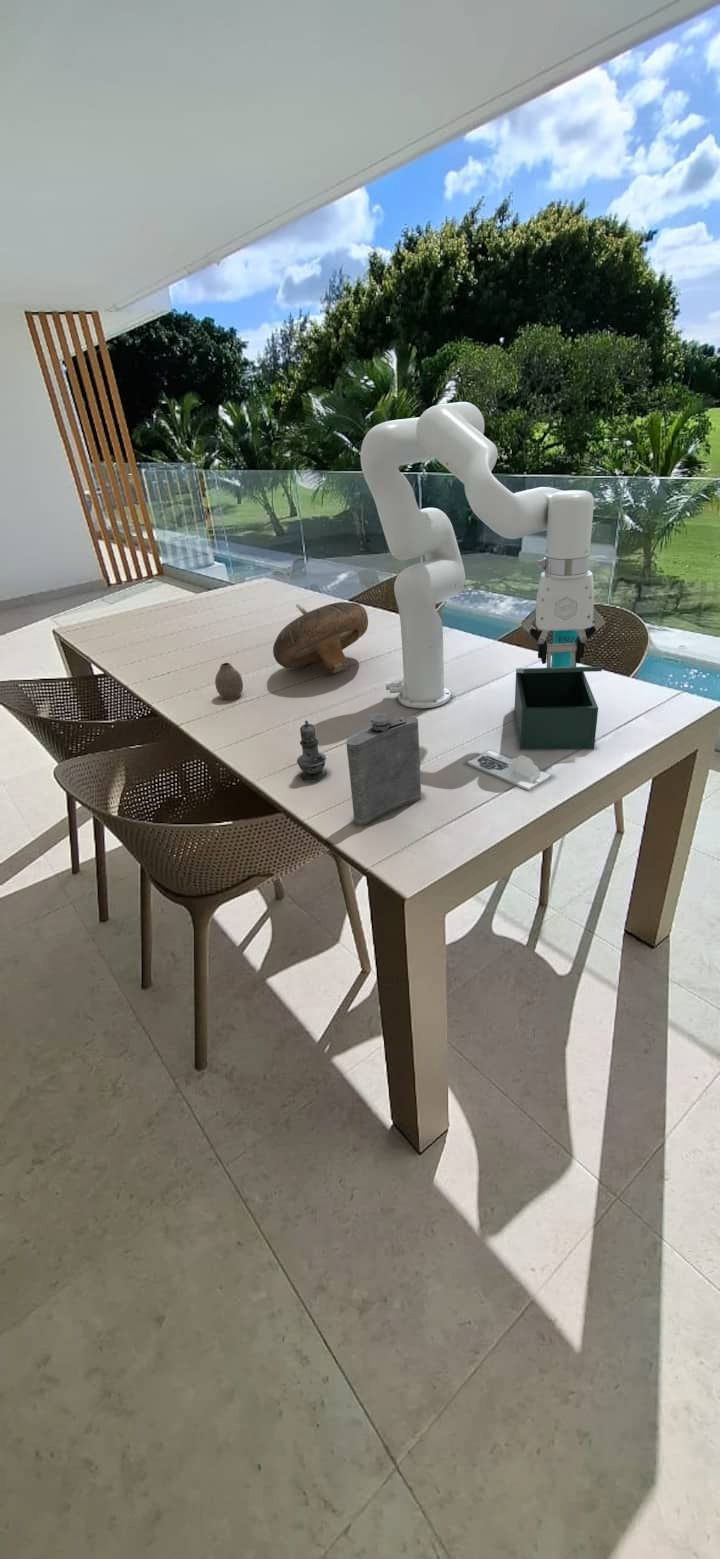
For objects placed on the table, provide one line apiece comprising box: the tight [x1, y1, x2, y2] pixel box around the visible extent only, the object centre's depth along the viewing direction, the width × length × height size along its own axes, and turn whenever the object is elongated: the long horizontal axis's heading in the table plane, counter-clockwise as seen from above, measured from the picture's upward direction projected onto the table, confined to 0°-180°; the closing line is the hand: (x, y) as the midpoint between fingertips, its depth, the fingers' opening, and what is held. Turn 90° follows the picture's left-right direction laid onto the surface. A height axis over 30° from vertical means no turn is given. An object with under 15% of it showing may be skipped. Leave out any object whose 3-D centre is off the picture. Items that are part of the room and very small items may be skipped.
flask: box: [345, 712, 422, 826], centre depth 116 cm, size 4×14×18 cm, turn 125°
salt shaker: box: [296, 719, 328, 783], centre depth 130 cm, size 6×6×12 cm
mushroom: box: [272, 601, 369, 675], centre depth 180 cm, size 28×23×25 cm
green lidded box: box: [514, 671, 599, 750], centre depth 140 cm, size 20×14×9 cm
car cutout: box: [466, 750, 553, 792], centre depth 127 cm, size 15×7×4 cm, turn 40°
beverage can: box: [551, 630, 578, 667], centre depth 159 cm, size 6×6×15 cm
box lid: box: [515, 643, 603, 673], centre depth 136 cm, size 21×14×5 cm
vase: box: [214, 662, 244, 700], centre depth 171 cm, size 7×7×9 cm
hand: (560, 660), depth 129 cm, fingers closed on box lid, 5 cm apart
